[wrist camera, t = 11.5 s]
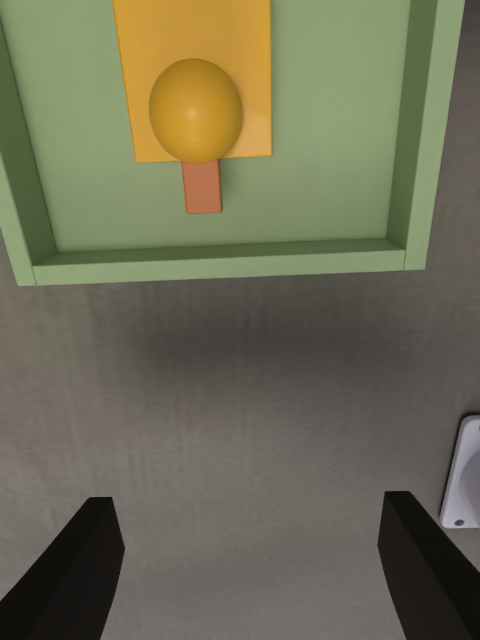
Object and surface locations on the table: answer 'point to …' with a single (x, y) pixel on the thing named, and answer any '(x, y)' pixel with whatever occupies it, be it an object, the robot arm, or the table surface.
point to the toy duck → (197, 86)
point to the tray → (236, 174)
